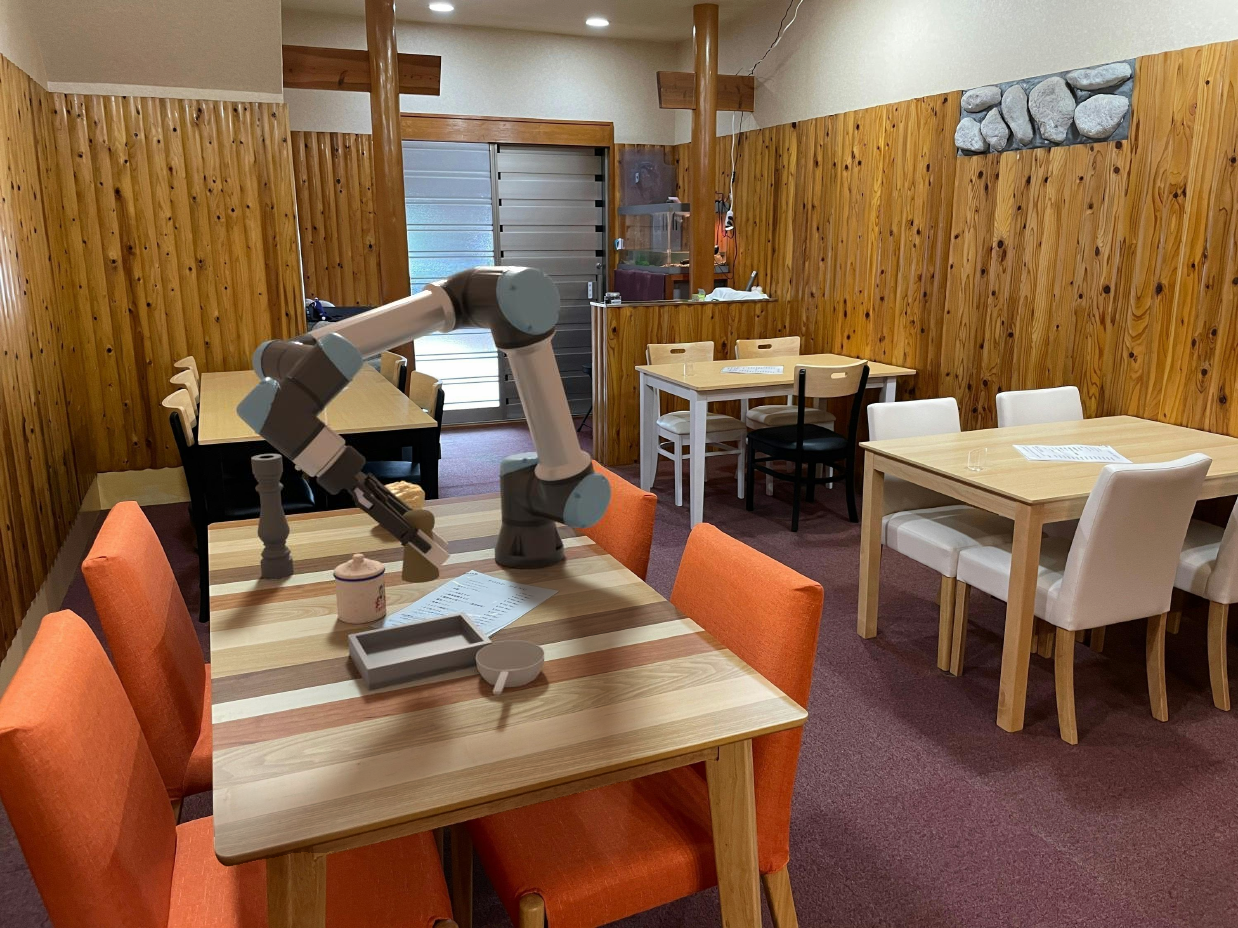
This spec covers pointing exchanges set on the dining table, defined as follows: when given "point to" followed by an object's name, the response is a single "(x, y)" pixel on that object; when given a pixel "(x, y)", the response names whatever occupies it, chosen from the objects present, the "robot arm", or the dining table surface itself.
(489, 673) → the saucepan
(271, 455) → the candle holder
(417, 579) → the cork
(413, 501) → the pale yellow lumpy ball
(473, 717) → the dining table surface
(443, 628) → the tray
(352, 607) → the teacup with lid
